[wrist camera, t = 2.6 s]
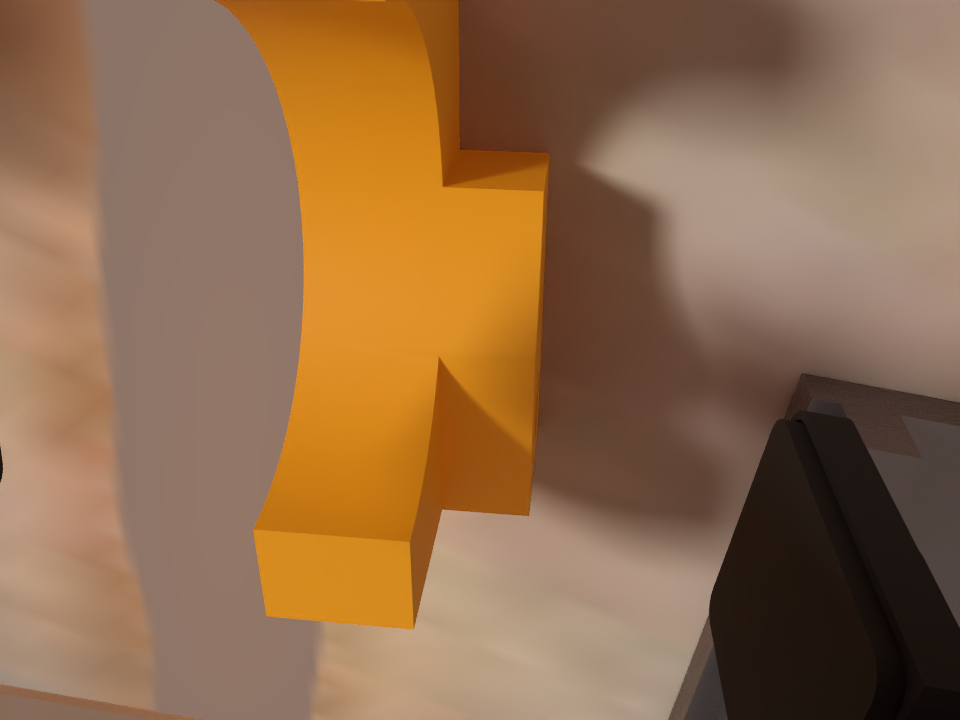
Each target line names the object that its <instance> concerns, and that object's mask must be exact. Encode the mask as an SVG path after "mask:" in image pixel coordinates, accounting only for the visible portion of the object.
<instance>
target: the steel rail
mask: <svg viewBox="0 0 960 720" xmlns="http://www.w3.org/2000/svg"><path fill="white" fill-rule="evenodd" d="M799 410H804V411H810V412H816V413H821V414H827V415H833V416H838V417H844V418H849V419H851V420H852V421H853V423H854V424H855V426H856V428H857V430H858V432H859V434H860V436H861V438H862V440H863V442H864V444H865V446H866V448H867V450H868V452H869V454H870V455H871V457H872V459H873V461H874V463H875V465H876V467H877V469H878V471H879V473H880V475H881V477H882V479H883V481H884V483H885V485H886V487H887V489H888V491H889V493H890V495H891V497H892V499H893V501H894V503H895V504H896V506H897V508H898V510H899V512H900V514H901V516H902V518H903V520H904V522H905V524H906V526H907V528H908V530H909V532H910V534H911V536H912V538H913V540H914V542H915V544H916V546H917V548H918V550H919V551H920V553H921V554H922V555H923V557H924V559H925V561H926V563H927V565H928V567H929V569H930V571H931V573H932V575H933V577H934V579H935V580H936V582H937V584H938V586H939V588H940V590H941V592H942V594H943V596H944V598H945V600H946V602H947V604H948V606H949V608H950V610H951V612H952V614H953V616H954V618H955V620H956V622H957V623H958V625H959V627H960V403H956V402H951V401H946V400H940V399H935V398H930V397H924V396H919V395H914V394H908V393H903V392H898V391H892V390H887V389H881V388H876V387H871V386H865V385H860V384H855V383H849V382H844V381H839V380H833V379H828V378H823V377H817V376H812V375H807V374H802V375H801V378H800V381H799V383H798V386H797V388H796V391H795V394H794V396H793V399H792V401H791V404H790V406H789V409H788V412H787V414H786V417H785V419H784V420H791V418H792V417H793V415H794V414H795V413H796V412H797V411H799ZM669 720H728V719H727V713H726V708H725V703H724V697H723V692H722V686H721V681H720V676H719V670H718V665H717V659H716V654H715V649H714V643H713V638H712V632H711V627H710V620H709V616H708V619H707V621H706V624H705V627H704V629H703V632H702V634H701V637H700V639H699V642H698V645H697V647H696V650H695V652H694V655H693V658H692V660H691V663H690V665H689V668H688V671H687V673H686V676H685V678H684V681H683V683H682V686H681V689H680V691H679V694H678V696H677V699H676V702H675V704H674V707H673V709H672V712H671V715H670V717H669Z"/></svg>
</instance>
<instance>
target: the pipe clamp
mask: <svg viewBox="0 0 960 720" xmlns="http://www.w3.org/2000/svg"><path fill="white" fill-rule="evenodd" d="M215 1H217V2H218V3H220V4H221V5H223V6H224V7H226V8H227V9H228V10H229V11H230V12H231V13H232V14H233V15H234V16H235V17H236V18H237V19H238V20H239V21H240V22H241V24H242V25H243V26H244V27H245V29H246V30H247V31H248V32H249V34H250V36H251V37H252V39H253V41H254V42H255V44H256V45H257V47H258V49H259V51H260V53H261V55H262V57H263V59H264V61H265V63H266V65H267V67H268V69H269V72H270V74H271V77H272V79H273V82H274V84H275V87H276V90H277V93H278V96H279V99H280V102H281V105H282V109H283V112H284V116H285V120H286V123H287V127H288V132H289V136H290V141H291V145H292V150H293V155H294V161H295V167H296V173H297V179H298V188H299V196H300V206H301V216H302V231H303V252H304V298H303V320H302V335H301V347H300V356H299V365H298V372H297V380H296V387H295V392H294V398H293V404H292V410H291V414H290V419H289V424H288V429H287V433H286V437H285V441H284V445H283V450H282V453H281V457H280V460H279V463H278V467H277V471H276V474H275V477H274V479H273V482H272V485H271V488H270V491H269V494H268V496H267V499H266V502H265V504H264V506H263V509H262V512H261V514H260V516H259V518H258V520H257V522H256V524H255V527H254V529H253V532H254V537H255V544H256V551H257V558H258V564H259V570H260V577H261V583H262V590H263V596H264V603H265V609H266V615H267V616H270V617H280V618H293V619H303V620H314V621H325V622H336V623H348V624H359V625H370V626H381V627H392V628H404V629H414V626H415V622H416V618H417V613H418V609H419V605H420V601H421V596H422V592H423V588H424V584H425V579H426V575H427V571H428V567H429V562H430V558H431V554H432V550H433V545H434V541H435V537H436V533H437V529H438V524H439V520H440V516H441V512H442V509H444V510H457V511H470V512H484V513H497V514H510V515H523V516H529V511H530V502H531V492H532V482H533V473H534V463H535V454H536V444H537V434H538V416H539V393H540V369H541V346H542V323H543V299H544V276H545V252H546V229H547V206H548V182H549V159H550V153H542V152H515V151H489V150H462V149H460V103H459V0H215Z"/></svg>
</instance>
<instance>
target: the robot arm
mask: <svg viewBox="0 0 960 720" xmlns="http://www.w3.org/2000/svg"><path fill="white" fill-rule="evenodd" d="M2 473H3V463H2V455H1V448H0V482H1V479H2ZM709 620H710V627H711V632H712V638H713V643H714V649H715V654H716V659H717V665H718V670H719V676H720V681H721V686H722V692H723V697H724V703H725V708H726V713H727V719H728V720H960V627H959V625H958V623H957V622H956V620H955V618H954V616H953V614H952V612H951V610H950V608H949V606H948V604H947V602H946V600H945V598H944V596H943V594H942V592H941V590H940V588H939V586H938V584H937V582H936V580H935V579H934V577H933V575H932V573H931V571H930V569H929V567H928V565H927V563H926V561H925V559H924V557H923V555H922V554H921V553H920V551H919V550H918V548H917V546H916V544H915V542H914V540H913V538H912V536H911V534H910V532H909V530H908V528H907V526H906V524H905V522H904V520H903V518H902V516H901V514H900V512H899V510H898V508H897V506H896V504H895V503H894V501H893V499H892V497H891V495H890V493H889V491H888V489H887V487H886V485H885V483H884V481H883V479H882V477H881V475H880V473H879V471H878V469H877V467H876V465H875V463H874V461H873V459H872V457H871V455H870V454H869V452H868V450H867V448H866V446H865V444H864V442H863V440H862V438H861V436H860V434H859V432H858V430H857V428H856V426H855V424H854V423H853V421H852V420H851V419H849V418H844V417H838V416H833V415H827V414H821V413H816V412H810V411H804V410H799V411H797V412H796V413H795V414H794V415H793V417H792V418H791V420H784V419H780V420H778V421H777V422H776V423H775V425H774V427H773V429H772V431H771V434H770V436H769V439H768V442H767V445H766V447H765V450H764V453H763V455H762V458H761V461H760V463H759V466H758V469H757V472H756V474H755V477H754V480H753V482H752V485H751V488H750V490H749V493H748V496H747V499H746V501H745V504H744V507H743V509H742V512H741V515H740V517H739V520H738V523H737V526H736V528H735V531H734V534H733V536H732V539H731V542H730V544H729V547H728V550H727V553H726V555H725V558H724V561H723V563H722V566H721V569H720V571H719V574H718V577H717V580H716V582H715V585H714V588H713V591H712V594H711V599H710V607H709ZM0 720H202V719H195V718H190V717H184V716H179V715H173V714H168V713H161V712H156V711H151V710H145V709H139V708H133V707H128V706H122V705H116V704H111V703H105V702H99V701H93V700H88V699H82V698H76V697H70V696H65V695H59V694H53V693H48V692H42V691H36V690H30V689H25V688H19V687H13V686H7V685H2V684H0Z"/></svg>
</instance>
